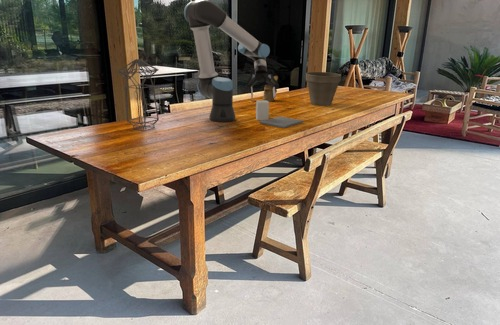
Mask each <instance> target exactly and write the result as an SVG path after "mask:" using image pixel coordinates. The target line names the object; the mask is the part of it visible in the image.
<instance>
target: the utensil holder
mask: <svg viewBox="0 0 500 325" xmlns="http://www.w3.org/2000/svg"><path fill="white" fill-rule="evenodd" d="M273 77H274V79H275V80H276V81H277V82H278V81H279V76H278V75H273ZM263 90H264V91H263V96H262V100H267V101H268V102H275V98H274V96H273V88H272V87H271V86H270V85H269V84H265V85H264V88H263Z"/></svg>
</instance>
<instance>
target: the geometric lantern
mask: <svg viewBox="0 0 500 325" xmlns="http://www.w3.org/2000/svg"><path fill="white" fill-rule="evenodd" d="M128 66H129V67H128ZM126 67H128V68H126ZM125 68H126V70H123V69H125ZM151 68H152V69H151ZM138 70H139V71H138ZM158 71H159V69H158V68H157V67H155V66H153V65H151V64H149V63H147V62H145V61H143V60H142V59H140V58H139V59H137V58H136V59H134V60H132V61H130V62H129V63H128V64H126V65H124V66H122V67H121V68H119V69H118V70H117V73H118V74H119V75H120V76H121V77H123V78H124V79H125V80H126V81H125V84H124V93H125V94H124V95H125V109H126V110H125V111H126V112H125V113H126V123H129V124H130V125H132V127H133V128H132V129H133V130H137V131H143V132H146V131H150V130H153V129H156V127H155V124H156V123H158V121H160V119H159V113H158V106H157V98H156V91H155V84H154V83H153V79H152V77H153V75H155V74H156V73H157V72H158ZM137 73H138V74H139V75H140V76H142V77H143V80H142V81H141V84H139V82H138V81H137V80H136V79H135V78H134V75H136V74H137ZM130 74H131V75H130ZM144 75H145V76H144ZM132 79H133V80H132ZM147 79H150V82H151V84H146V86H144V85H145V82H146V80H147ZM129 80H130V81H131V82H132V85H128V82H129ZM135 82H136V83H137V84H135ZM137 86H138V87H137ZM134 88H135V91H136V92H135V93H136V102H137V113H138V117H137V116H136V117H132V118H129V113H128V112H129V108H128V107H129V106H128V105H129V104H128V89H134ZM146 88H152V95H153V100H154V106H155V111H156V117H153V116H147V111H146V108H147V107H146V101H145V94H144V93H145V92H144V89H146ZM142 114H143V115H142ZM148 118H149V119H153V120H149V121H146V119H148ZM136 119H138V122H137V121H133V120H136ZM143 120H144V121H143ZM133 123H134V124H133ZM147 124H148V125H147ZM147 127H148V129H147ZM138 128H142V129H138Z"/></svg>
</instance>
